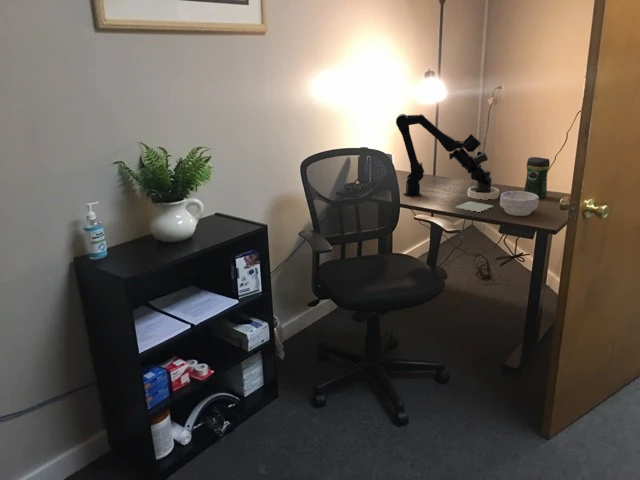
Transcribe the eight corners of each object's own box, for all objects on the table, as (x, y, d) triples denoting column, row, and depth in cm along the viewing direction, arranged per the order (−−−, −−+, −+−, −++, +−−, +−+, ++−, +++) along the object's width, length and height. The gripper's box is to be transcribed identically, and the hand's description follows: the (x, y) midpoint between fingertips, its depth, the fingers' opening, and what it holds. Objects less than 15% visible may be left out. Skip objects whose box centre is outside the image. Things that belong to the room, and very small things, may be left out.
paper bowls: (534, 220, 213) (536, 201, 210) (495, 215, 220) (497, 197, 217) (539, 210, 225) (541, 192, 223) (503, 206, 233) (504, 189, 230)
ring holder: (461, 195, 252) (462, 189, 251) (481, 190, 259) (482, 184, 258) (484, 201, 241) (484, 195, 240) (504, 196, 248) (505, 190, 247)
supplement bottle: (491, 197, 246) (493, 172, 242) (476, 197, 248) (477, 172, 244) (489, 194, 253) (491, 169, 249) (475, 193, 254) (476, 169, 250)
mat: (455, 207, 233) (455, 206, 233) (469, 202, 240) (469, 201, 240) (479, 212, 225) (479, 211, 224) (493, 206, 232) (493, 205, 232)
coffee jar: (548, 197, 244) (553, 157, 238) (539, 200, 240) (543, 160, 233) (530, 193, 251) (534, 155, 245) (520, 196, 247) (524, 157, 241)
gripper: (480, 150, 234) (503, 175, 236) (475, 143, 252) (497, 166, 254) (461, 168, 238) (484, 191, 240) (457, 159, 256) (479, 182, 257)
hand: (487, 182), depth 248 cm, fingers closed on supplement bottle, 7 cm apart
